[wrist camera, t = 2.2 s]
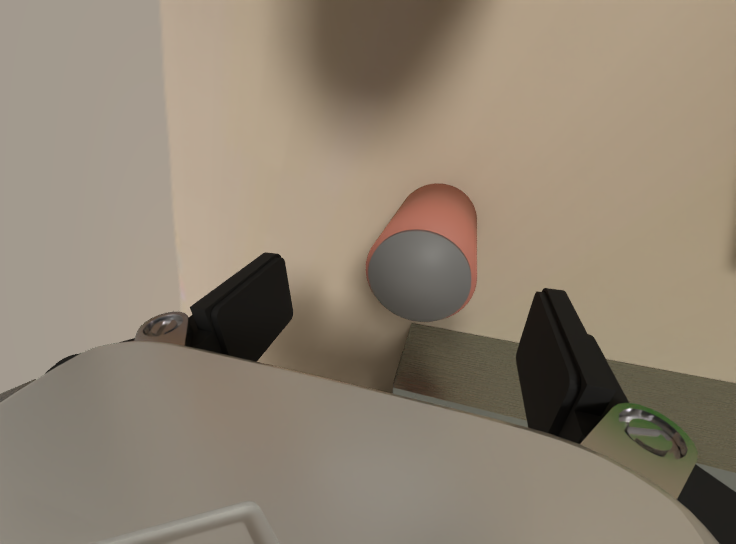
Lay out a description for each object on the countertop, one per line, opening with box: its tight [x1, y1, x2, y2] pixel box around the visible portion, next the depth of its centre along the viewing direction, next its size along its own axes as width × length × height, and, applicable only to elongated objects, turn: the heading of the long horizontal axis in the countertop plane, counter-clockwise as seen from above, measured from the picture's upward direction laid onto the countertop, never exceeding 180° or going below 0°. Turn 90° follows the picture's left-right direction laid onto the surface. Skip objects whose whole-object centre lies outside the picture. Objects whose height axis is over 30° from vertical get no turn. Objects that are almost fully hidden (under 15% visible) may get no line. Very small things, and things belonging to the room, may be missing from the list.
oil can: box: [366, 184, 477, 322], centre depth 15 cm, size 5×5×7 cm
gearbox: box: [393, 323, 736, 492], centre depth 20 cm, size 23×14×7 cm, turn 91°
